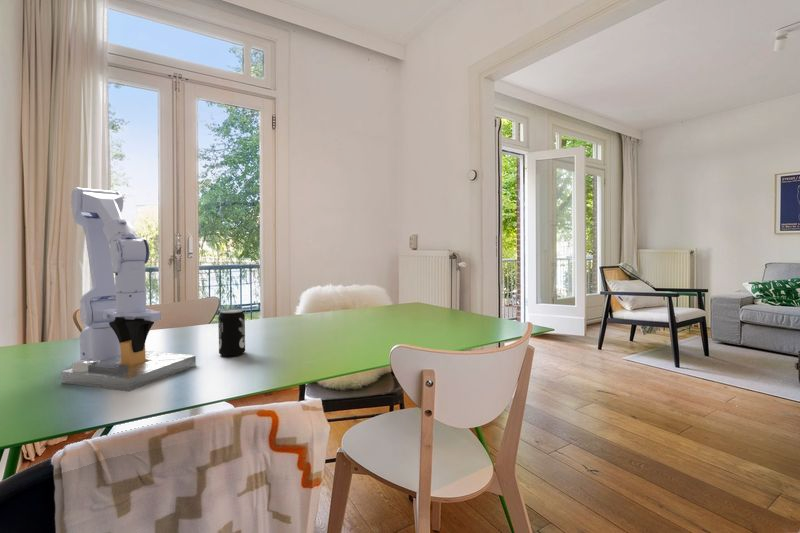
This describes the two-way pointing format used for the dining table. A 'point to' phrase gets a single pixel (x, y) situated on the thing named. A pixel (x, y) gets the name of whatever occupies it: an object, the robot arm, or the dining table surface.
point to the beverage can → (231, 332)
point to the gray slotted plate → (126, 371)
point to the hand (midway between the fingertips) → (132, 350)
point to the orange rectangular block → (131, 355)
